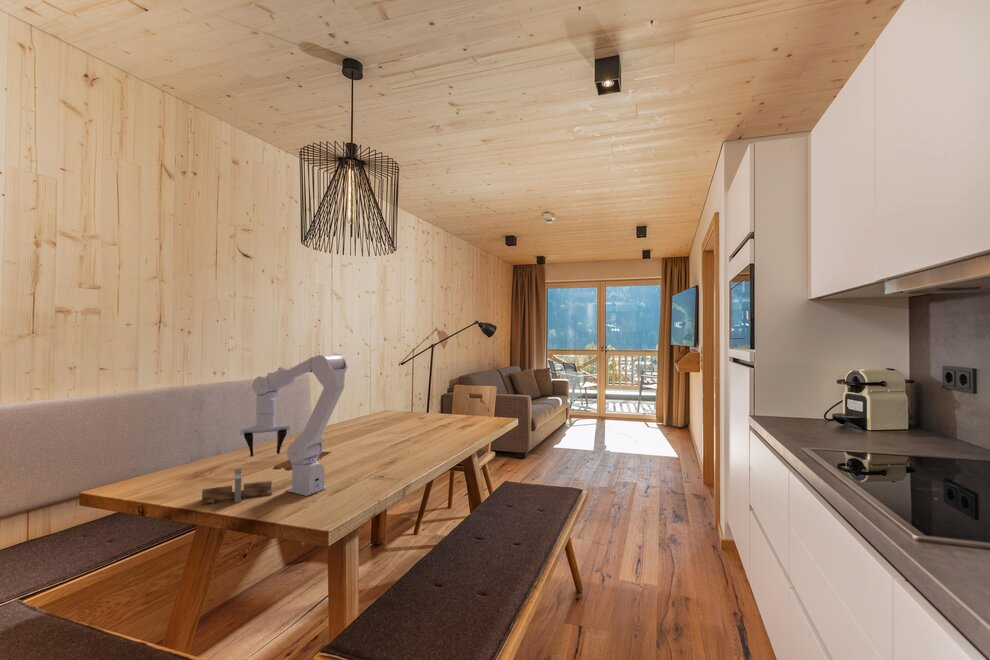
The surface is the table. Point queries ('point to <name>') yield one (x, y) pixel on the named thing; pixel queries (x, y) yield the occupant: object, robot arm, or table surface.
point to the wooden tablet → (288, 465)
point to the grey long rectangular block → (237, 485)
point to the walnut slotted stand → (226, 492)
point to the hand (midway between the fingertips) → (265, 454)
